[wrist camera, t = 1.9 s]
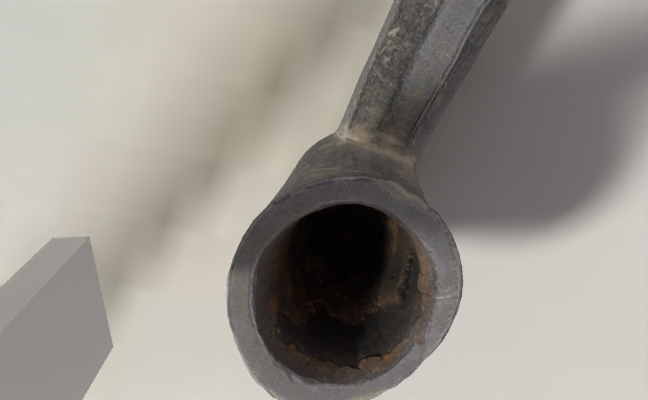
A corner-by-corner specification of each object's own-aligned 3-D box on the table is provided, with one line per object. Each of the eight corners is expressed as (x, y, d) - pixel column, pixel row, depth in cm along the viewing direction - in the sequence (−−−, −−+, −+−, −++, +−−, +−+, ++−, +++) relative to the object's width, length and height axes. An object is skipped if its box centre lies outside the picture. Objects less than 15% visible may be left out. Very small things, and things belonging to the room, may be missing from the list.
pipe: (517, 2, 19) (640, 21, 12) (364, 295, 24) (384, 442, 16) (357, -74, 18) (382, -105, 11) (229, 246, 23) (184, 377, 15)
